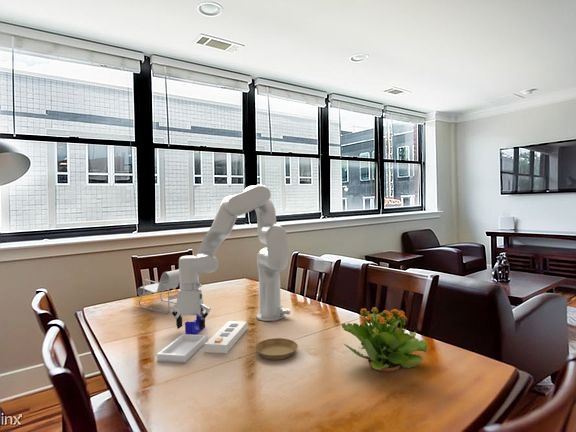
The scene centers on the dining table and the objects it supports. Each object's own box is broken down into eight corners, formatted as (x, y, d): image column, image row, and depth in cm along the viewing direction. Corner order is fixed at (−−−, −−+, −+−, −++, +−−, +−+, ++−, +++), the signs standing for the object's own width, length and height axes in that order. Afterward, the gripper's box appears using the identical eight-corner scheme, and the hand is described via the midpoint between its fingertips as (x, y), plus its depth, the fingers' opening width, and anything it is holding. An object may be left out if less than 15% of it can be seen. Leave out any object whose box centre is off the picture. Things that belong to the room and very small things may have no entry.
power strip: (247, 328, 148) (247, 320, 148) (226, 353, 124) (226, 343, 124) (228, 328, 149) (228, 319, 149) (205, 352, 126) (204, 342, 126)
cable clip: (195, 327, 152) (194, 313, 152) (205, 327, 151) (204, 313, 151) (181, 337, 140) (181, 322, 140) (192, 338, 140) (192, 323, 139)
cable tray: (207, 341, 135) (207, 335, 135) (185, 363, 118) (184, 355, 117) (182, 340, 137) (182, 334, 137) (157, 361, 119) (156, 354, 119)
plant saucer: (249, 349, 128) (249, 342, 128) (287, 342, 134) (287, 335, 134) (263, 366, 114) (263, 358, 114) (305, 357, 120) (304, 350, 120)
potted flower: (411, 394, 96) (410, 329, 95) (330, 373, 108) (329, 316, 108) (429, 358, 117) (429, 305, 116) (360, 344, 130) (359, 296, 129)
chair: (169, 314, 171) (168, 273, 170) (137, 306, 184) (135, 268, 183) (191, 306, 182) (190, 268, 181) (159, 300, 195) (158, 264, 195)
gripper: (213, 284, 147) (214, 325, 148) (174, 283, 151) (175, 324, 151) (205, 289, 140) (207, 332, 141) (164, 288, 143) (166, 330, 144)
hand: (190, 328), depth 146 cm, fingers open, 9 cm apart
